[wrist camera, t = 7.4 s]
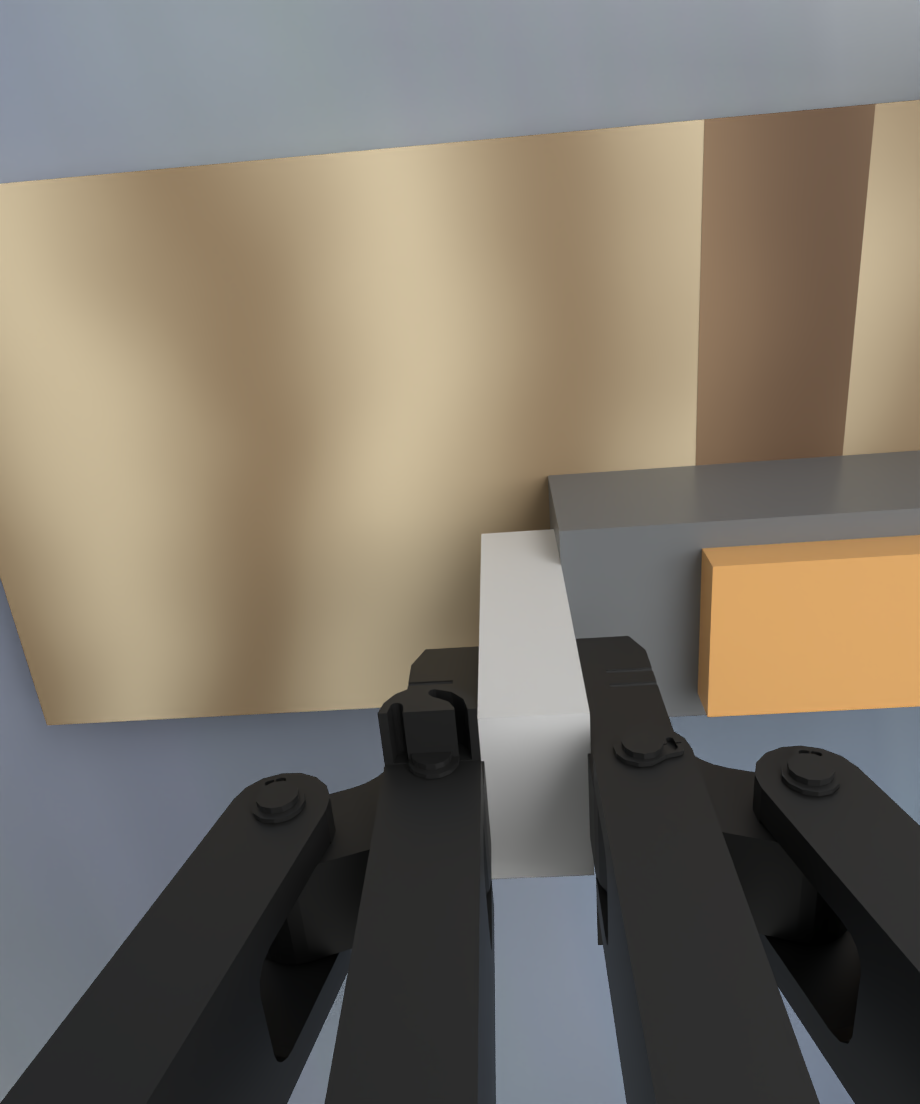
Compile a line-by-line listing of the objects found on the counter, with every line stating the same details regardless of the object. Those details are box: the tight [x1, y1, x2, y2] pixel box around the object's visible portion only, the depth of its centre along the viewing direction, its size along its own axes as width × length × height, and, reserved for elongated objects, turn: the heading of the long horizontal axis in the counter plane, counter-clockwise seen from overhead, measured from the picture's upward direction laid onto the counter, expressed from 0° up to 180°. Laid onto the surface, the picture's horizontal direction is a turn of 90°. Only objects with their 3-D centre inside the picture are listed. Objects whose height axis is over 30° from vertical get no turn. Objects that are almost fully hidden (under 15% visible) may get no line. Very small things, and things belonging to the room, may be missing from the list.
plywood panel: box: [0, 100, 920, 725], centre depth 19 cm, size 24×12×1 cm, turn 95°
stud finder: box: [548, 450, 920, 717], centre depth 17 cm, size 8×4×4 cm, turn 95°
